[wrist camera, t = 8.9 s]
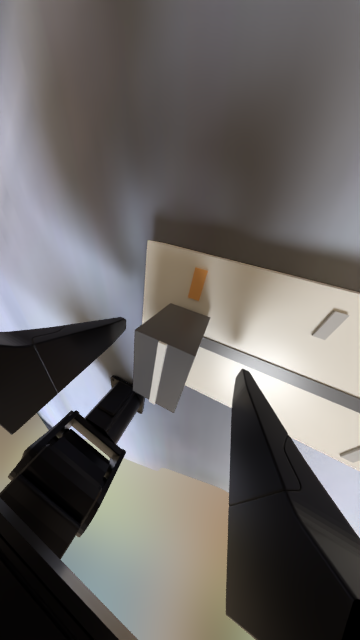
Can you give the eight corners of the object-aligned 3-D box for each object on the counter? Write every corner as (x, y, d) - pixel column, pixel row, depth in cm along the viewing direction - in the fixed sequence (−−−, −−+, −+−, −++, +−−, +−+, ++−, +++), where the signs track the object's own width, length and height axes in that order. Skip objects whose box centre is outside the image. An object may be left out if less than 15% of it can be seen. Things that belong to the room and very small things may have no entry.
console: (361, 449, 12) (384, 485, 10) (149, 351, 16) (138, 363, 15) (616, 357, 6) (795, 406, 4) (162, 242, 10) (146, 240, 8)
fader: (192, 366, 11) (173, 414, 8) (161, 352, 12) (131, 391, 9) (210, 317, 9) (194, 357, 5) (170, 303, 9) (133, 331, 6)
